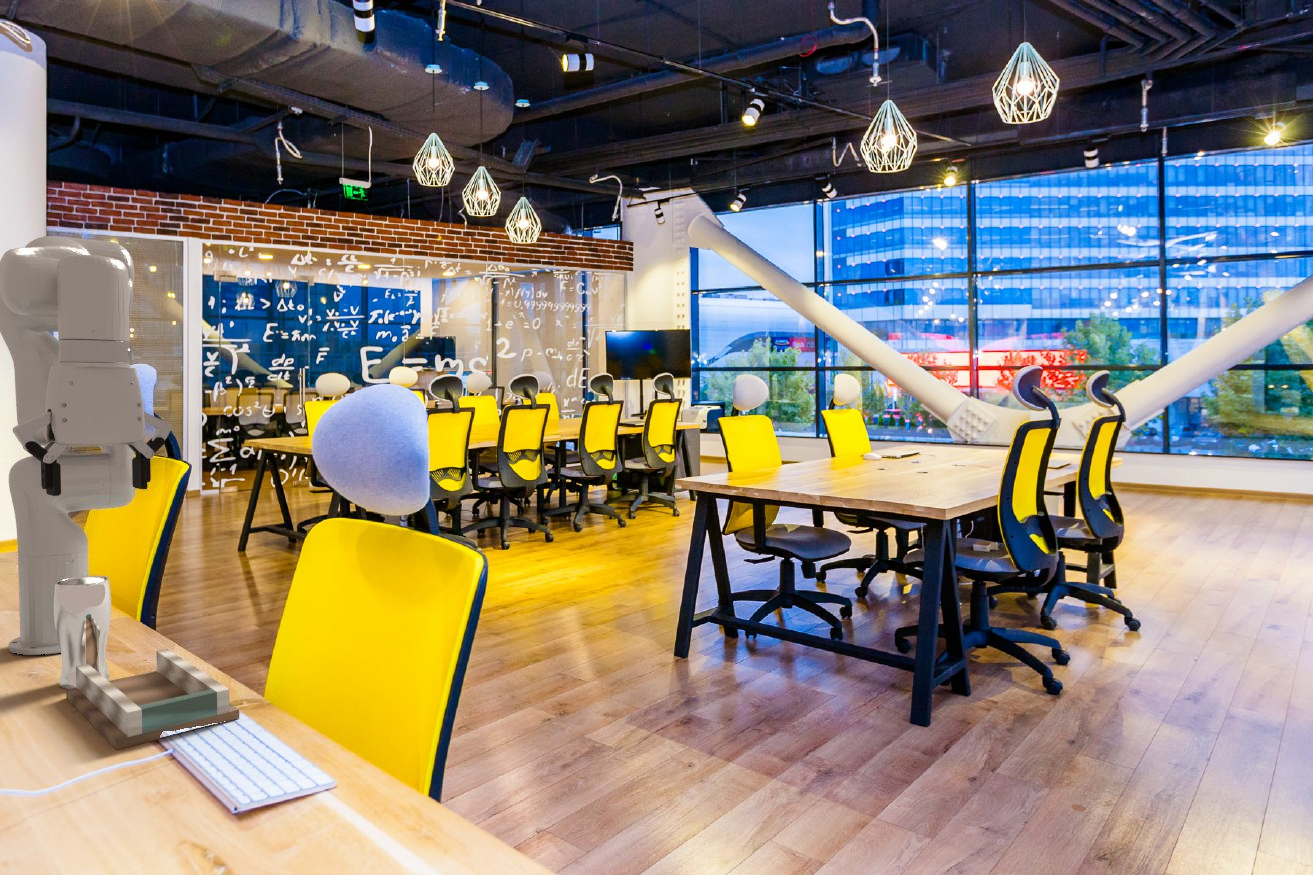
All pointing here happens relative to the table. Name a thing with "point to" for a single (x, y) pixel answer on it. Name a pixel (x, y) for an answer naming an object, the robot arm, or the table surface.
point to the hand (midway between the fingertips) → (98, 491)
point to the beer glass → (82, 624)
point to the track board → (150, 701)
